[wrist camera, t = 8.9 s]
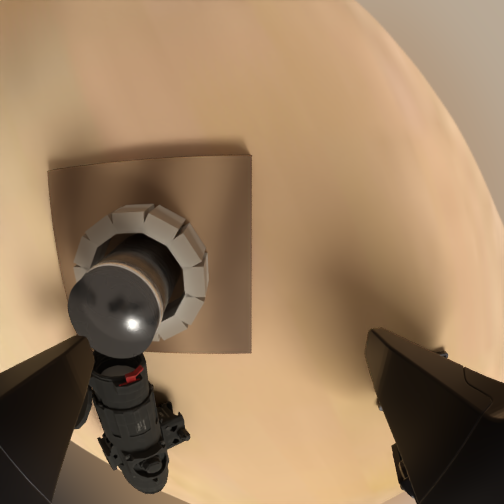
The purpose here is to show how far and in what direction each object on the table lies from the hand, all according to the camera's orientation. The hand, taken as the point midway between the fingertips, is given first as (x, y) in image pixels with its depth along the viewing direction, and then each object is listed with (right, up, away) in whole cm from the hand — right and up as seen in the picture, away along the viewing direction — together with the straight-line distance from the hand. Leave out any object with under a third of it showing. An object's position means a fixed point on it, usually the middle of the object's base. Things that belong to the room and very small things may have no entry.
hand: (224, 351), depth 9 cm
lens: (-6, +2, +11) cm, 13 cm away
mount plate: (-6, +2, +12) cm, 14 cm away
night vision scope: (-9, -11, +17) cm, 22 cm away
